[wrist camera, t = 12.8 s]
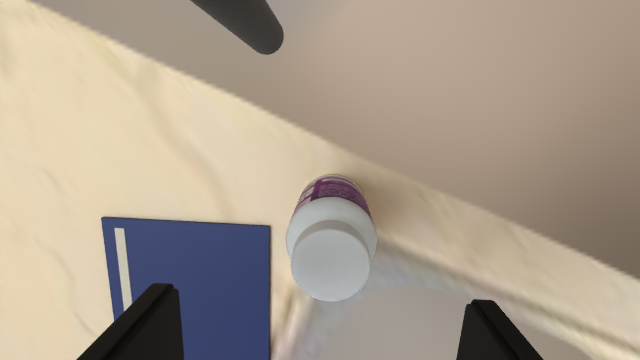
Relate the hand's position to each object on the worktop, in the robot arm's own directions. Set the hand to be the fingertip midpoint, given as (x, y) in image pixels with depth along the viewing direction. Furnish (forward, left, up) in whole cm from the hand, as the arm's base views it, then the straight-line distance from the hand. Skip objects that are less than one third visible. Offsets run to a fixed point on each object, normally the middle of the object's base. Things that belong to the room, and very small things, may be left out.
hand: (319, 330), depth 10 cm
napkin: (+9, -12, -15) cm, 21 cm away
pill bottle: (+1, 0, -15) cm, 15 cm away
